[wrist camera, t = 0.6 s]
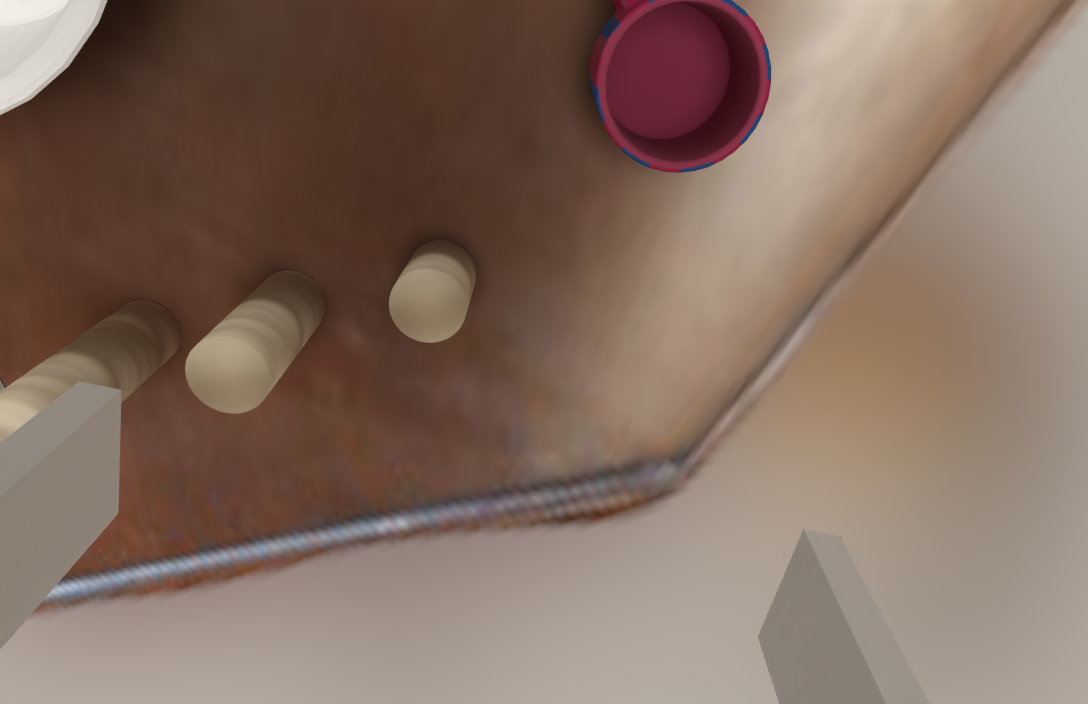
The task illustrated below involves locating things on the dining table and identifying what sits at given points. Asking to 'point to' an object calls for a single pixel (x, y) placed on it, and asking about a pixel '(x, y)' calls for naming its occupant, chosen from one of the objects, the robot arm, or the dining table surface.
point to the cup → (679, 80)
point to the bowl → (40, 43)
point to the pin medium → (255, 343)
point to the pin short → (433, 291)
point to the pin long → (96, 361)
